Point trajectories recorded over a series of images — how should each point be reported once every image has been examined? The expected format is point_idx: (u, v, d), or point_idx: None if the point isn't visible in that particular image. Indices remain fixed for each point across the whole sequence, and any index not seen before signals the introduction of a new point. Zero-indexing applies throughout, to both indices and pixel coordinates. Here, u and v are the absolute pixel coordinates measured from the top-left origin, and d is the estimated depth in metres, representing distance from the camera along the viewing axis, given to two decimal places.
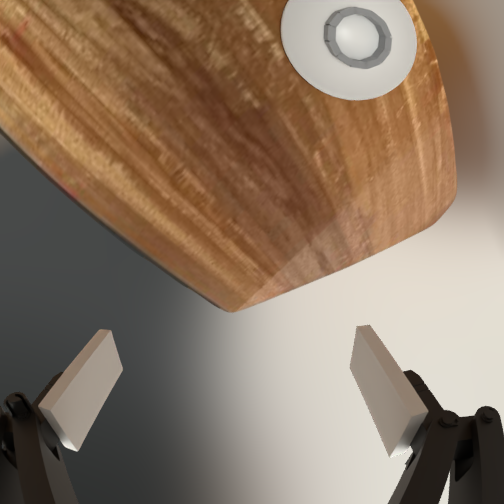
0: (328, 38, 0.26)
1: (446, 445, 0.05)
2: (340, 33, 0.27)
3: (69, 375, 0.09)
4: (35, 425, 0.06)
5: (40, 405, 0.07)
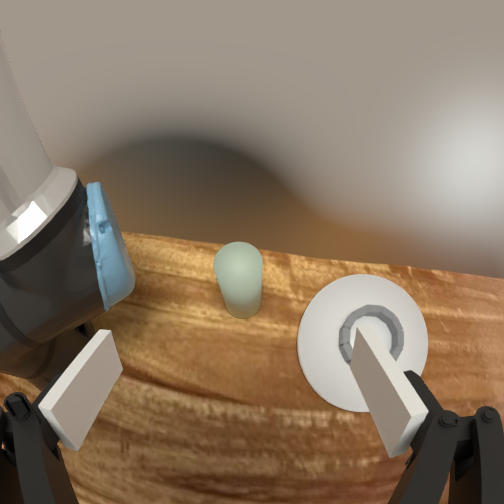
0: None
1: (446, 445, 0.05)
2: None
3: (69, 375, 0.09)
4: (35, 425, 0.06)
5: (40, 405, 0.07)
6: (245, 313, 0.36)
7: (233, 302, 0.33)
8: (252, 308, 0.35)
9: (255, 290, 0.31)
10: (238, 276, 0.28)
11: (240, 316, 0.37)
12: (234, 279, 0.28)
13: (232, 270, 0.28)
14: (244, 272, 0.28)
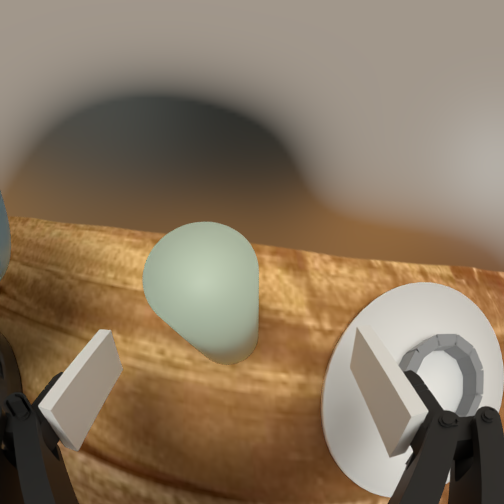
0: None
1: (446, 445, 0.05)
2: None
3: (69, 375, 0.09)
4: (35, 425, 0.06)
5: (40, 405, 0.07)
6: (229, 360, 0.19)
7: (201, 349, 0.15)
8: (241, 353, 0.18)
9: (243, 330, 0.14)
10: (198, 305, 0.11)
11: (221, 363, 0.20)
12: (188, 313, 0.11)
13: (184, 289, 0.11)
14: (213, 295, 0.11)
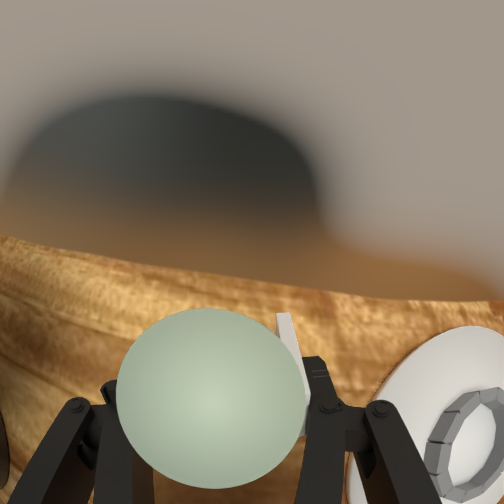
0: (458, 501, 0.08)
1: (334, 430, 0.07)
2: (453, 470, 0.11)
3: None
4: None
5: None
6: None
7: None
8: None
9: None
10: (207, 455, 0.06)
11: None
12: (192, 464, 0.05)
13: (183, 429, 0.06)
14: (231, 441, 0.06)
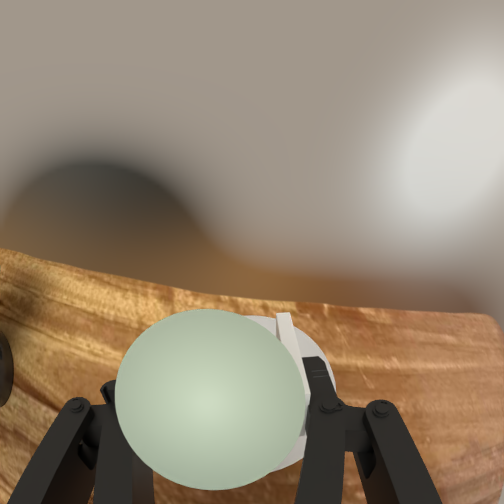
0: None
1: (333, 430, 0.07)
2: None
3: None
4: None
5: None
6: None
7: None
8: None
9: None
10: (206, 456, 0.05)
11: None
12: (191, 466, 0.05)
13: (182, 431, 0.06)
14: (230, 442, 0.06)
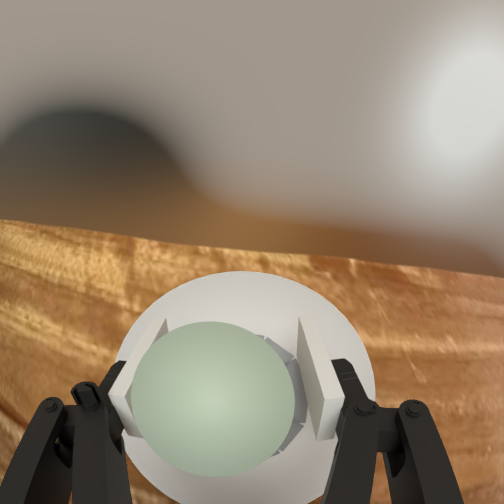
0: None
1: (367, 433, 0.07)
2: None
3: (135, 361, 0.11)
4: (103, 418, 0.08)
5: (110, 393, 0.09)
6: None
7: None
8: None
9: None
10: (210, 447, 0.07)
11: None
12: (197, 456, 0.06)
13: (190, 425, 0.07)
14: (231, 435, 0.07)
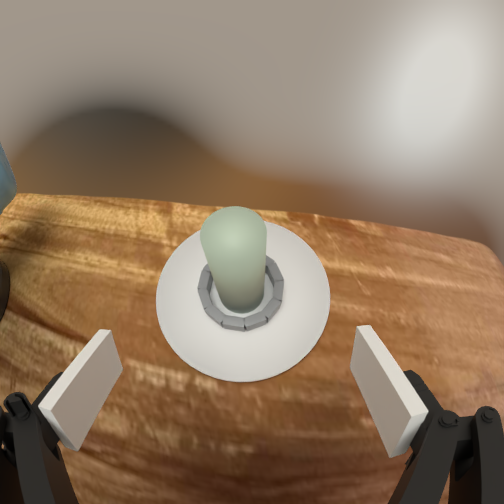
0: (218, 320, 0.28)
1: (446, 445, 0.05)
2: None
3: (69, 375, 0.09)
4: (35, 425, 0.06)
5: (40, 405, 0.07)
6: (244, 305, 0.28)
7: (228, 290, 0.25)
8: (253, 299, 0.27)
9: (257, 272, 0.23)
10: (233, 250, 0.20)
11: (238, 310, 0.29)
12: (227, 254, 0.20)
13: (225, 242, 0.21)
14: (241, 244, 0.21)
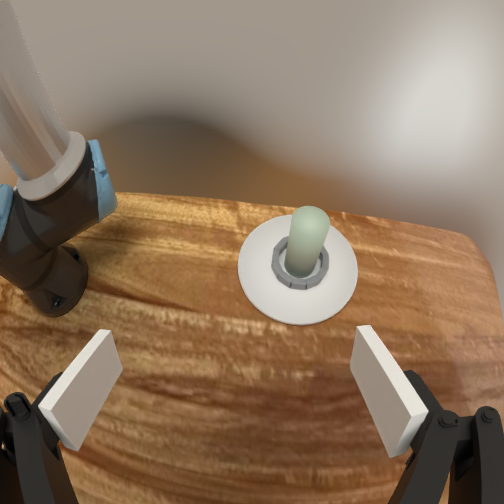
0: (289, 281, 0.42)
1: (446, 445, 0.05)
2: None
3: (69, 375, 0.09)
4: (35, 425, 0.06)
5: (40, 405, 0.07)
6: (306, 270, 0.42)
7: (301, 258, 0.39)
8: (312, 266, 0.42)
9: (321, 245, 0.37)
10: (313, 231, 0.35)
11: (299, 275, 0.44)
12: (310, 233, 0.34)
13: (307, 226, 0.35)
14: (317, 228, 0.35)
